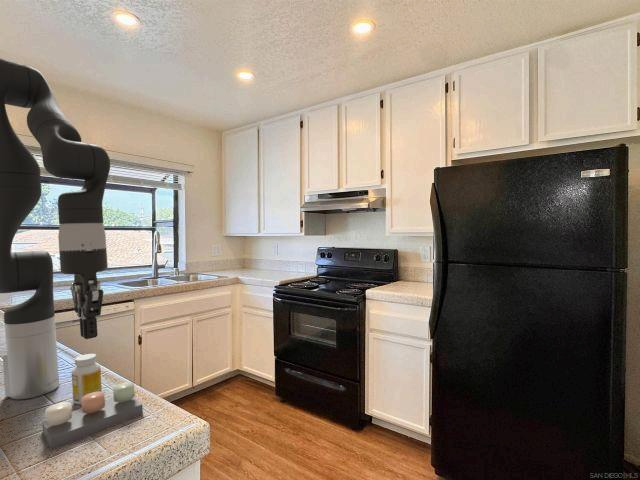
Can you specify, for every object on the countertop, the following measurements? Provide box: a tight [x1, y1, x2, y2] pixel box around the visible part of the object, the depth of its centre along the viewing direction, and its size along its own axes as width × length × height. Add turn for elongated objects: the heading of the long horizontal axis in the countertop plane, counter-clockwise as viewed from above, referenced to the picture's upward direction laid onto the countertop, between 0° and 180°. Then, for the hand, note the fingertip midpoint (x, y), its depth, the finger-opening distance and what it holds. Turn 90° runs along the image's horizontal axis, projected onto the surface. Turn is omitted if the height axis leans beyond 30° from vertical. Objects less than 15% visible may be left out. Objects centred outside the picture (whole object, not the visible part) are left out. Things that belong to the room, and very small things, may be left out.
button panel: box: [41, 396, 144, 450], centre depth 69 cm, size 15×8×2 cm, turn 136°
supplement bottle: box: [71, 353, 103, 405], centre depth 79 cm, size 5×5×10 cm
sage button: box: [112, 381, 136, 402], centre depth 73 cm, size 4×4×2 cm
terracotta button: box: [81, 391, 106, 413], centre depth 69 cm, size 4×4×2 cm
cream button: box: [45, 401, 73, 426], centre depth 65 cm, size 4×4×2 cm
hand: (89, 336), depth 69 cm, fingers closed
